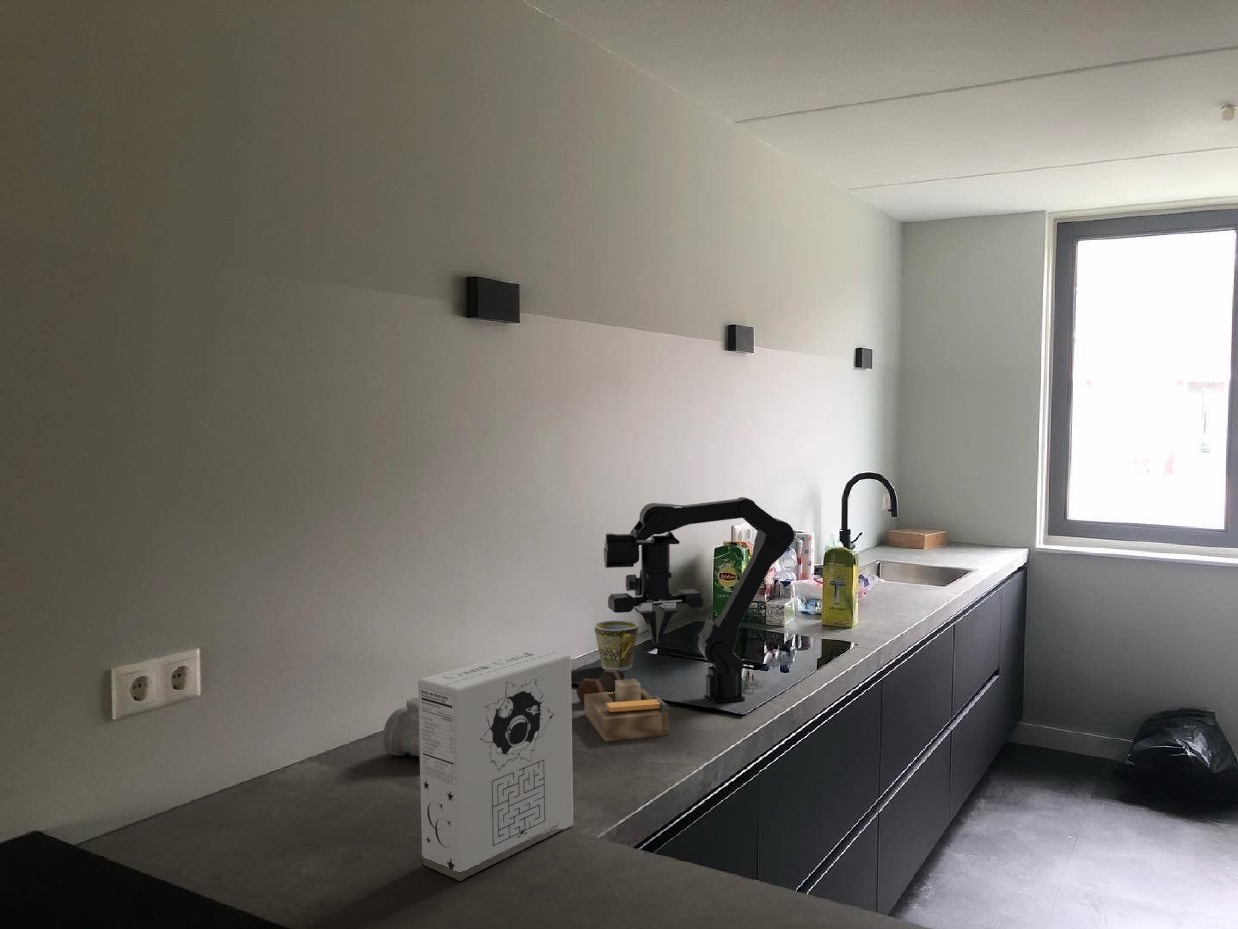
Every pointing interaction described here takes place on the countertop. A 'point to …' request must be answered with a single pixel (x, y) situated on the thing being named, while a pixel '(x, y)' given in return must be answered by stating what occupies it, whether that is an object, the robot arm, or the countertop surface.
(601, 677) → the bolt
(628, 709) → the gate
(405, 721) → the pipe fitting
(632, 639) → the ceramic cup
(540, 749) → the cereal box
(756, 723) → the countertop surface
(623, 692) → the peg
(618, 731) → the block
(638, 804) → the countertop surface
